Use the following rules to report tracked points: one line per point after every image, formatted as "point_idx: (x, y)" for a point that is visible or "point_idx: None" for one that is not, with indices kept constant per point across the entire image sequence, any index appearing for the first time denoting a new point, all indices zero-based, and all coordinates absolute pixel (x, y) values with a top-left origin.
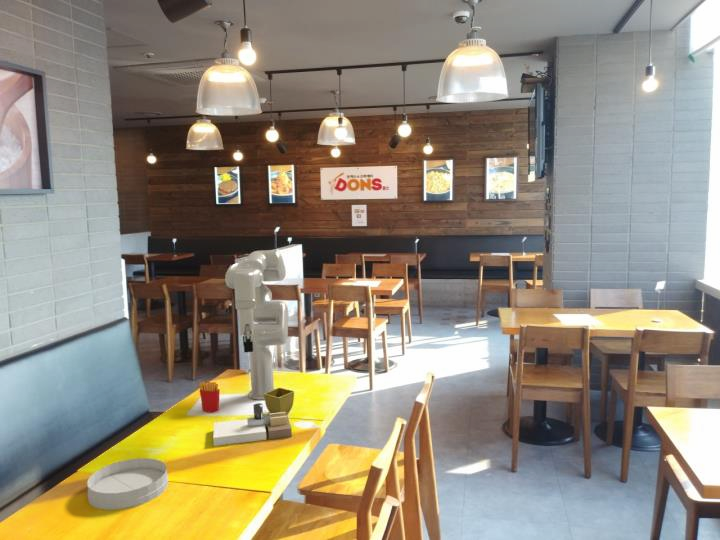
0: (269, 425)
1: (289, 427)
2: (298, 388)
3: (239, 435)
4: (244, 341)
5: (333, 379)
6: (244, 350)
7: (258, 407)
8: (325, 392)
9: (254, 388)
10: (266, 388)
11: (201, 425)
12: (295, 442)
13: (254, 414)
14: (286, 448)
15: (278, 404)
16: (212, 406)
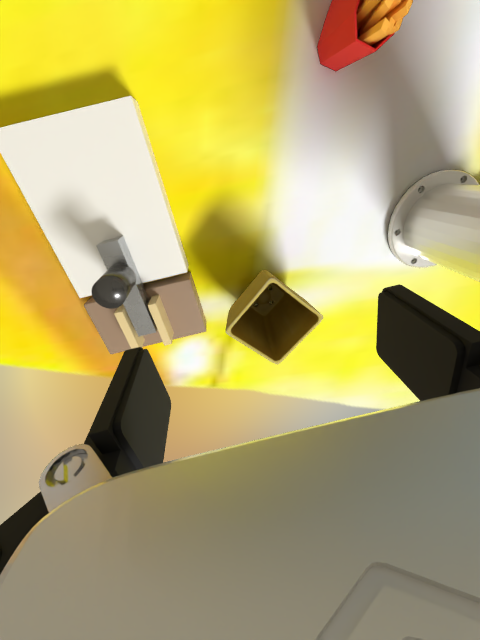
0: None
1: (115, 349)
2: None
3: (41, 224)
4: (84, 449)
5: None
6: (122, 359)
7: (95, 296)
8: (385, 374)
9: (435, 202)
10: (419, 246)
11: (186, 22)
12: (83, 354)
13: (105, 272)
14: (46, 341)
15: (227, 318)
16: (326, 36)
